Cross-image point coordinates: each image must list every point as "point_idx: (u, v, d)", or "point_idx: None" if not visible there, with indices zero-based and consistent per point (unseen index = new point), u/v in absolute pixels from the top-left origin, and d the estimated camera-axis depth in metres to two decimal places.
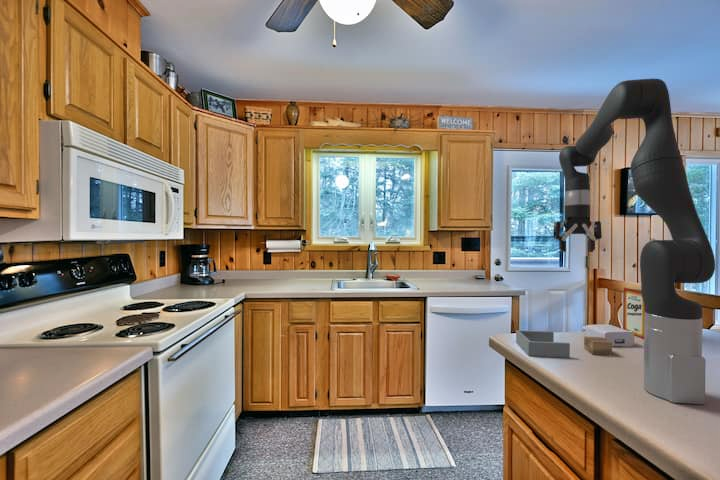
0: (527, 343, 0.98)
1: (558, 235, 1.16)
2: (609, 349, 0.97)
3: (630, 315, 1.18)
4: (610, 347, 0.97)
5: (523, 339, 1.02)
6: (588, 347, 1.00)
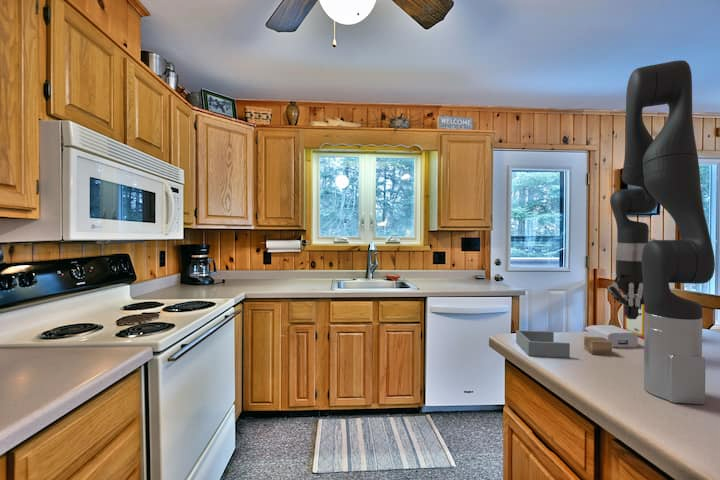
0: (527, 343, 0.98)
1: (624, 300, 0.98)
2: (609, 349, 0.97)
3: None
4: (609, 347, 0.97)
5: (523, 339, 1.02)
6: (588, 347, 1.00)
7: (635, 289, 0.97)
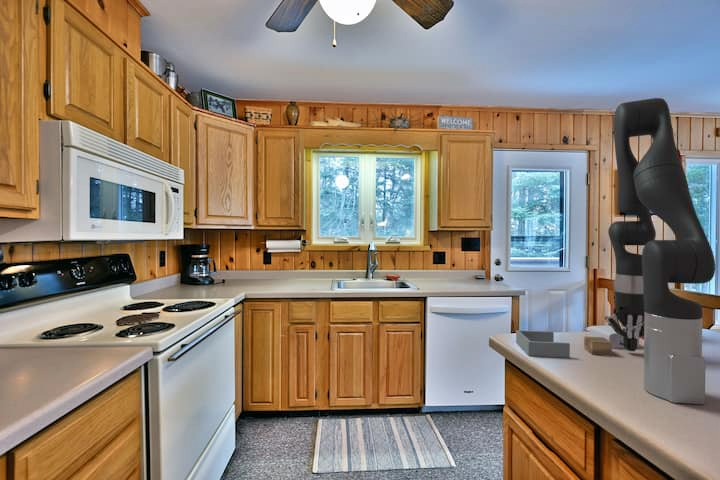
0: (527, 343, 0.98)
1: (623, 331, 0.98)
2: (609, 349, 0.97)
3: None
4: (609, 347, 0.97)
5: (523, 339, 1.02)
6: (588, 347, 1.00)
7: (634, 321, 0.97)
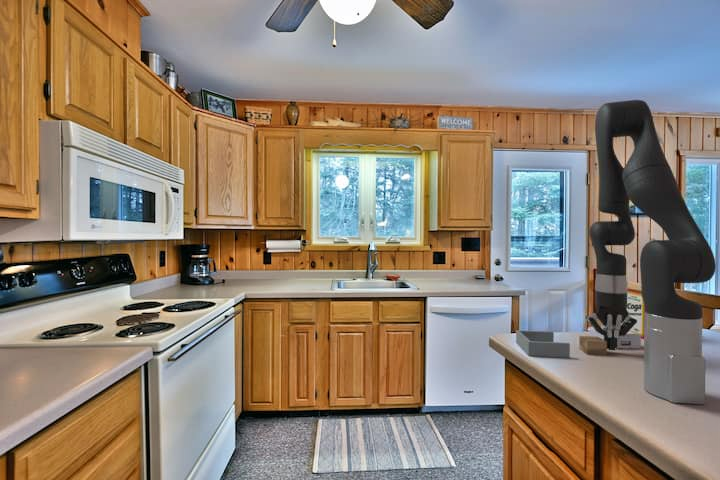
0: (527, 343, 0.98)
1: (603, 331, 0.98)
2: (604, 348, 0.97)
3: (630, 315, 1.18)
4: (604, 346, 0.97)
5: (523, 339, 1.02)
6: (583, 347, 1.01)
7: (614, 320, 0.98)
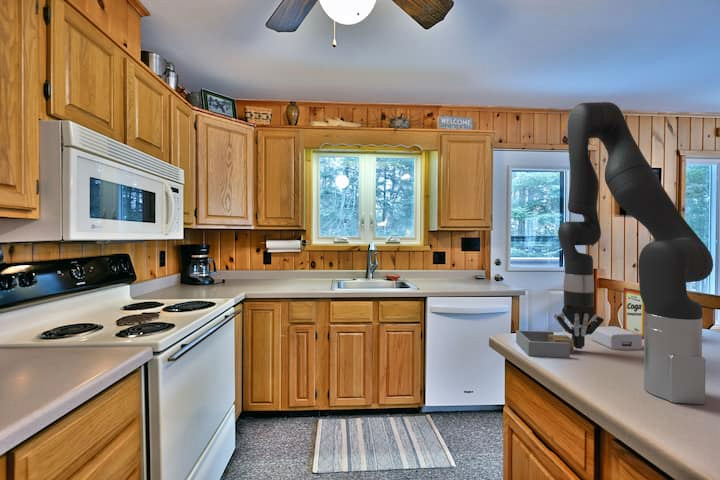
0: (527, 343, 0.98)
1: (571, 329, 1.00)
2: (571, 347, 0.99)
3: (630, 315, 1.18)
4: (571, 345, 0.99)
5: (523, 339, 1.02)
6: None
7: (581, 319, 0.99)
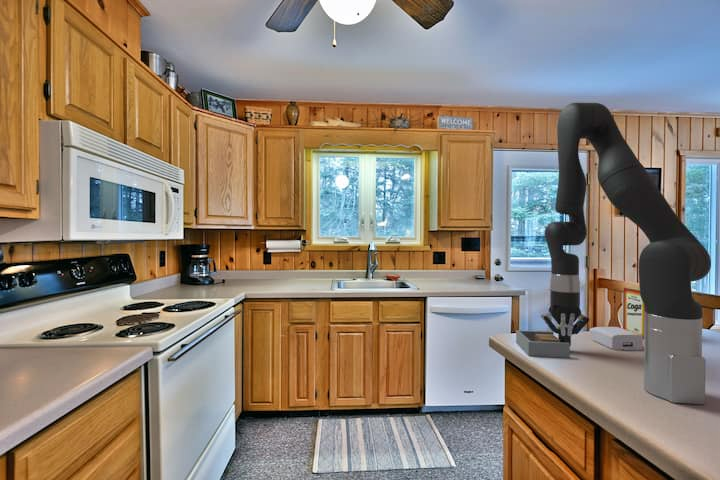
0: (527, 343, 0.98)
1: (557, 329, 1.00)
2: None
3: (630, 315, 1.18)
4: None
5: (523, 339, 1.02)
6: None
7: (567, 319, 1.00)
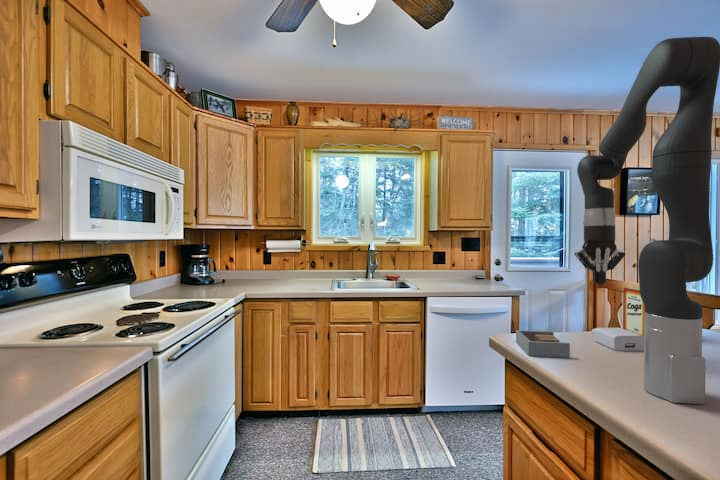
0: (527, 343, 0.98)
1: (592, 265, 0.98)
2: None
3: (630, 315, 1.18)
4: None
5: (523, 339, 1.02)
6: None
7: (602, 254, 0.98)
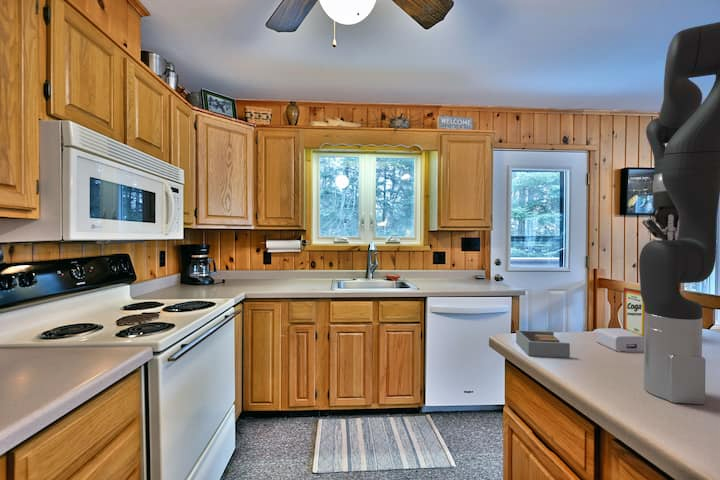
0: (527, 343, 0.98)
1: (663, 233, 0.92)
2: None
3: (630, 315, 1.18)
4: None
5: (523, 339, 1.02)
6: None
7: (675, 222, 0.92)
